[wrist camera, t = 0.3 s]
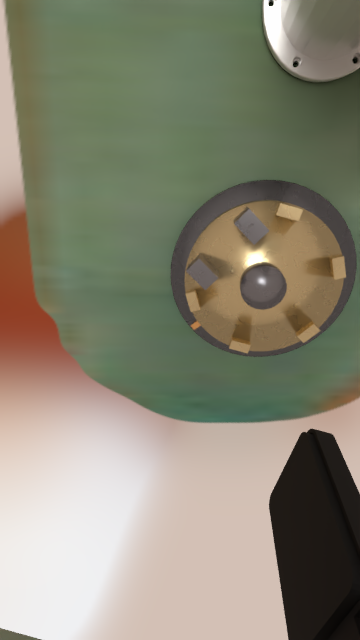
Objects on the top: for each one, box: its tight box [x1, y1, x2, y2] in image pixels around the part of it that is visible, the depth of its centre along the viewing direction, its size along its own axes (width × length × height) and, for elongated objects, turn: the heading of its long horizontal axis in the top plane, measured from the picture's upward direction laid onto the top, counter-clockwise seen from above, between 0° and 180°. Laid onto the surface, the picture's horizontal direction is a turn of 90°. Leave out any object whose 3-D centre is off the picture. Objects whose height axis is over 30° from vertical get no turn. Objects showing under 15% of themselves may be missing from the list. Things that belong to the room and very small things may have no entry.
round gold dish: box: [185, 200, 346, 354], centre depth 37 cm, size 18×18×5 cm
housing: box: [171, 180, 356, 357], centre depth 41 cm, size 22×22×2 cm
